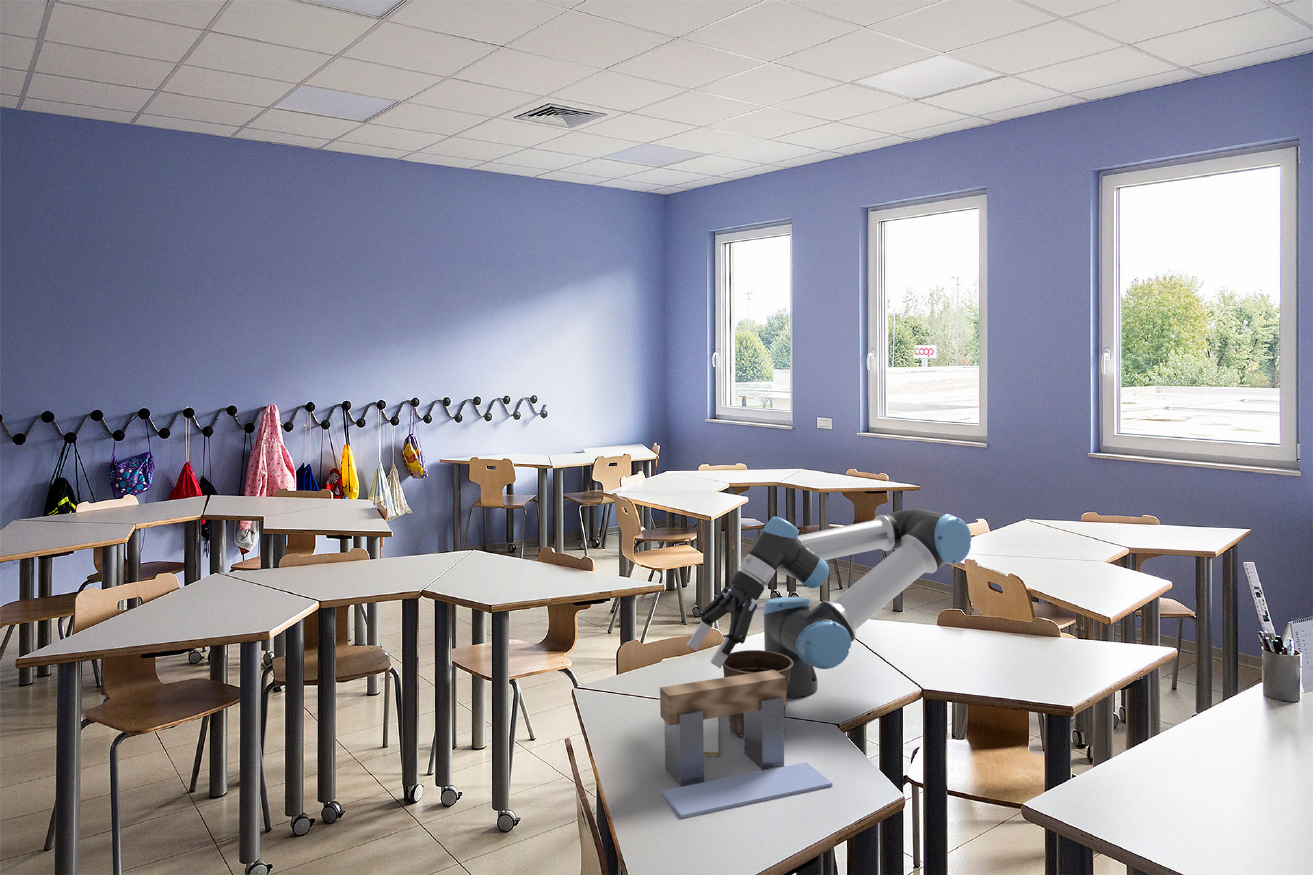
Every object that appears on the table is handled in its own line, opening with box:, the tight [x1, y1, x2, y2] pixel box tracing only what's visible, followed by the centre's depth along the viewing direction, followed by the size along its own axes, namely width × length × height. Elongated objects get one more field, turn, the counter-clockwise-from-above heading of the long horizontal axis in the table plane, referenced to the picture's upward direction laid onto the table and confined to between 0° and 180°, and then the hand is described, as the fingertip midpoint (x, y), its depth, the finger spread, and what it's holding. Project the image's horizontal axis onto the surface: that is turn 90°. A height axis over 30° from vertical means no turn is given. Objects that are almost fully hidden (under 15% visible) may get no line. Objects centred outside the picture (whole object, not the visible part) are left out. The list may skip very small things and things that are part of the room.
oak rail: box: [659, 670, 787, 726], centre depth 180 cm, size 26×5×6 cm, turn 110°
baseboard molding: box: [703, 717, 720, 757], centre depth 202 cm, size 31×3×12 cm
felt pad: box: [661, 761, 833, 819], centre depth 171 cm, size 32×10×1 cm, turn 110°
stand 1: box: [664, 710, 705, 787], centre depth 177 cm, size 5×8×14 cm, turn 20°
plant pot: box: [722, 649, 793, 738], centre depth 199 cm, size 16×16×16 cm
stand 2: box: [743, 696, 785, 771], centre depth 184 cm, size 5×8×14 cm, turn 20°
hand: (702, 656), depth 202 cm, fingers open, 13 cm apart
